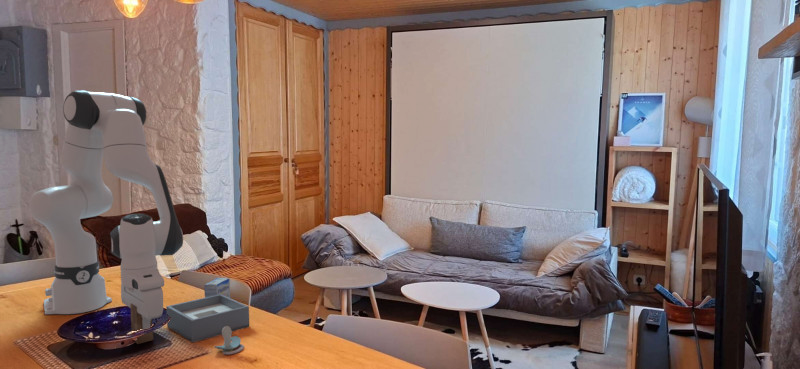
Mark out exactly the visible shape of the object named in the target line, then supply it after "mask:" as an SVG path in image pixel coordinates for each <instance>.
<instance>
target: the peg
mask: <svg viewBox="0 0 800 369" xmlns="http://www.w3.org/2000/svg"><path fill="white" fill-rule="evenodd" d="M129 308H130V324H131V325H130V326H131V332H132V331H137V330H140V329H142V328H141V323H142V321H143V318H142V315H141V314H139V313H138V312H137V307H136V306H134V305H133V304H130V307H129ZM151 326H154V324H153V319H151V322H150V327H151ZM150 341H154V330H153V331H151V332H149V333H147V334H145V335H143V336H140V337H139V338H137V340H136V342H135V343H136V344H137V345H139V344H143V343H146V342H150Z"/></svg>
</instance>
